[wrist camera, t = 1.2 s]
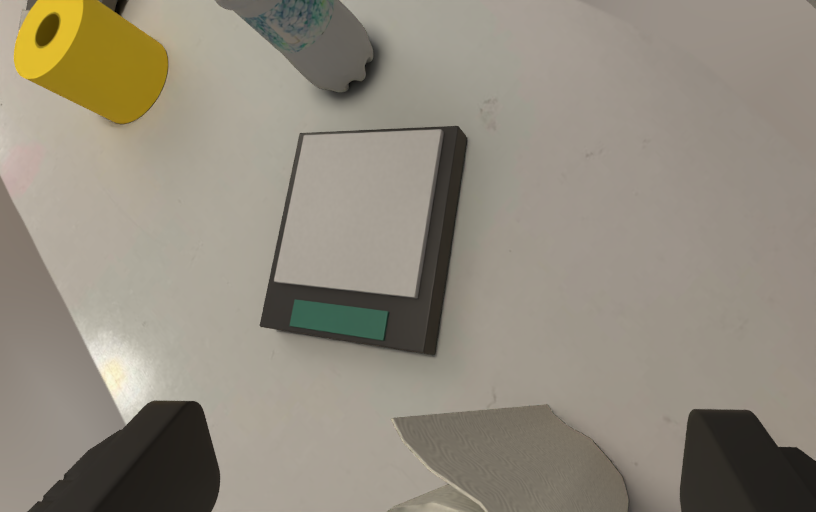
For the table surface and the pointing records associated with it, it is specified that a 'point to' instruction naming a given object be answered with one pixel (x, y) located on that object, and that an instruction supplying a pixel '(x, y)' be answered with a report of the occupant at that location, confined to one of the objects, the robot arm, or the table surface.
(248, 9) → the bottle
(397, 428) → the paper towel roll
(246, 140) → the table surface
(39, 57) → the yellow toilet paper roll
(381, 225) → the scale
